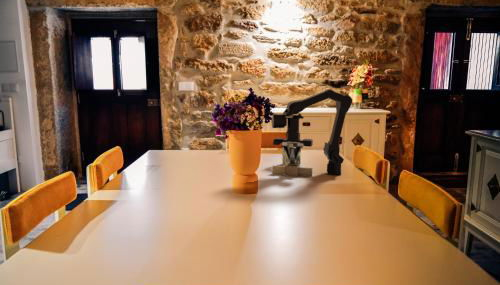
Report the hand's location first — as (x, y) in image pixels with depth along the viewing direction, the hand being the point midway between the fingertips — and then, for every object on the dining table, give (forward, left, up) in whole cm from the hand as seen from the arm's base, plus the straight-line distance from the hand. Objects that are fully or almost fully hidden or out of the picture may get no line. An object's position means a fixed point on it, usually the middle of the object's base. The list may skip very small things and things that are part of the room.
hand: (292, 159), depth 181 cm
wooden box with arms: (0, 0, -8) cm, 8 cm away
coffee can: (+4, -20, -8) cm, 22 cm away
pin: (0, 0, -2) cm, 2 cm away
